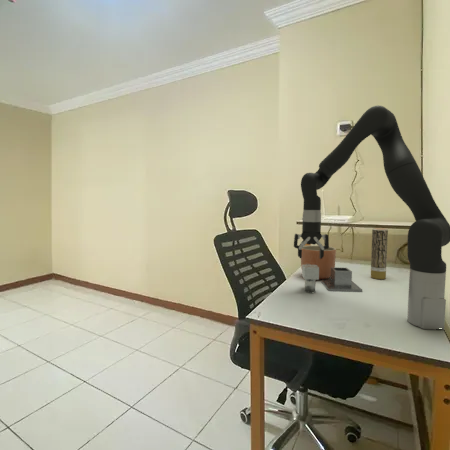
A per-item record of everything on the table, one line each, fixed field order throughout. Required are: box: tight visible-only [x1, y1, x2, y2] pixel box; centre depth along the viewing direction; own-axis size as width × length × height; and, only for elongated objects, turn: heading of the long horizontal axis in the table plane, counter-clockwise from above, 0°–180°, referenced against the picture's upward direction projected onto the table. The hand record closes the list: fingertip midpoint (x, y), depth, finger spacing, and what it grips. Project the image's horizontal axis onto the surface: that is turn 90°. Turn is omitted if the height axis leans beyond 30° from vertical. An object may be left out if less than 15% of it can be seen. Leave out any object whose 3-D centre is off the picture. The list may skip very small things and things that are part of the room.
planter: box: [300, 244, 337, 280], centre depth 145 cm, size 17×17×15 cm
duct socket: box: [320, 266, 363, 293], centre depth 129 cm, size 14×14×8 cm
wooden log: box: [370, 227, 389, 280], centre depth 143 cm, size 7×7×25 cm
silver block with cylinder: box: [301, 264, 320, 294], centre depth 124 cm, size 9×6×11 cm, turn 173°
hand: (310, 258), depth 122 cm, fingers open, 8 cm apart
